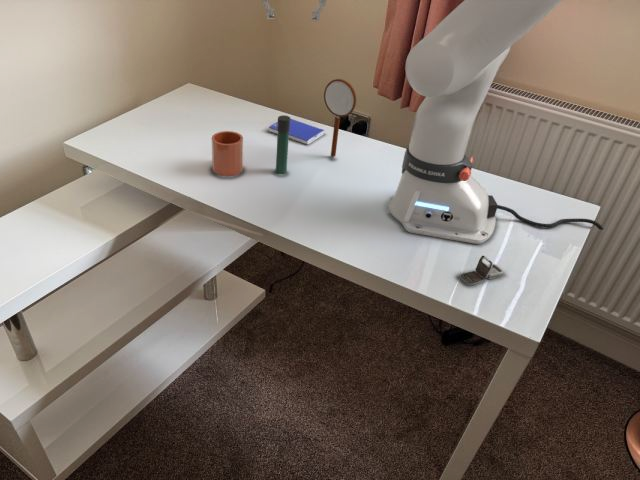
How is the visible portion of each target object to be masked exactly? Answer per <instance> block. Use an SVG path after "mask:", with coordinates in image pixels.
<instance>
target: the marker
mask: <svg viewBox="0 0 640 480" xmlns="http://www.w3.org/2000/svg"><path fill="white" fill-rule="evenodd" d="M290 119H291V117H290V116H289V115H279V116H278V117H277V122H278V124H277V131H278V133H277V134H276V135H277V137H276V139H277V140H276V154H275V155H276V157H275V173H276V174H278V175H285V174H287V170H288V155H289V141H290V140H289V139H290V138H289V131H290Z"/></svg>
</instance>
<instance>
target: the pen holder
mask: <svg viewBox="0 0 640 480" xmlns="http://www.w3.org/2000/svg"><path fill="white" fill-rule="evenodd" d="M211 167H212V168H211V169H212V171H213V172H214V174H216V175H218V176H221V177H234V176H237V175H239V174H241V173H242V172H243V170H244V137H243V135H242V134H241V133H239V132H236V131H232V130H224V131H218V132H216V133H214V134H213V135H211Z"/></svg>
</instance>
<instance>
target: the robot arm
mask: <svg viewBox="0 0 640 480" xmlns="http://www.w3.org/2000/svg"><path fill="white" fill-rule="evenodd" d="M563 1H564V0H463V1H462V2H461V3H460V4H458V5H457V6H456V7H455V8H454V9H453V10H452V11H451V12H450V13H449V14H448V15H447V16H445V17H444V18H443V19H442V20H441V21H440V22H439V23H438V24H437V25H435V27H434V28H433V29H432V30H431V31H429V33H428V34H426V35H425V36H424V37H423V38H422V39H421V40H419V41H418V42H417V44H416V45H414V46H413V47H412V48H411V49H410V51H409V53H408V55H407V57H406V60H405V65H404V66H405V67H404V68H405V69H404V70H405V77H406V80H407V82H408V85H409V86H410V87H411V88H412V90H413V91H414V92H415V93H417V94H419V95H420V96H423V97H424V99H423V100H422V102H421V103H420V105H419V106H418V108H417V109H416V112H415V117H414V121H413V125H412V129H411V135H410V140H409V144H408V146H407V148H405V151H404V154H403V160H402V165H401V176H400V179H399V182H398V184H397V188H396V190H395V191H394V194H393V196H392V198H391V199H390V201H389V204H388V210H389V212H390V214H391V215H392V216H393V218H395V219H396V220H397V221H398V222H399V223H401V224H402V226H403V228H404V230H405V231H406V232H408V233H411V234H417V235H423V236H427V237H428V236H429V237H433V238H434V237H435V238H441V239H447V240H451V241H457V242H464V243H469V244H475V245H480V244H483V243H485V242H486V241H488V240H489V239H490V238H491V236H492V235H493V233H494V231H495V227H496V222H497V221H496V220H497V219H496V213H497V211H498V210H501V211H505V212H508V213H510V214H512V215H513V216H514V217H515V218H516V219H517V220H519V221H521V222H523V223H526V224H527V225H530V226H534V227H539V228H555V227H557V226H559V225H561V224H564V223H586V224H591V225H593V226H595V227H596V228H597V229H598V230H601V231H603V230H604V227H603V226H602V225H601V224H600V223H599V222H598V221H596V220H594V219H589V218H562V219H559V220H557V221H555V222H552V223H542V222H538V221H537V222H536V221H533V220H530V219H528V218H525V217H523V216H521V215H520V214H519V213H518V212H516V210H514V209H513V208H510V207H507V206H503V205H500V204H498V202H497V201H496V199H495V197H494V196H493V195H491V194H488V192H487V190H486V189H485V188H484V187H483V186H482V185H481V184H480V183H479V182H478V181H477V180H476V178H475V177H473V176H472V168H473V161H474V157H473V156H471V158H470V159H469V157H468V156H467V155H466V150H467V147H468V143H469V140H470V137H471V133H472V130H473V126H474V123H475V120H476V118H477V116H478V113H479V111H480V109H481V107H482V105H483V103H484V101H485V99H486V97H487V95H488V92H489V90H490V89H491V86H492V85H493V81H494V79H495V77H496V75H497V73H498V71H499V69H500V67H501V65H502V64H503V63H504V61H505V60H506V58H507V56H508V54H509V53H510V51H511V47H512V46H513V45H514V44H516V43H517V42H518V41H519V40H521V39H522V38H523V37H524V36H526V35H527V34H529V33H530V32H531V31H532V30H533V29H534V28H535V27H536V26H538V25H539V24H540V23H541V22H542V21H543V20H544V19H545V18H546V17H547V16H548V15H549V14H550V13H551V12H552V11H554V10H555V9H556V8H557V7H558V6H559V5H560V4H561V3H562V2H563ZM261 2H262V4H263V7H264V8H265V10H266V19H267V20H274V19H275V8H272V7H271V6H270V4H269V2H270V0H261ZM318 4H319V5H318V6H317V8H316V9H312V10H311V14H312V15H311V22H319V21H320V13H321V12H322V11H323V9H324V8H325V6H326V4H327V0H318Z"/></svg>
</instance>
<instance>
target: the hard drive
mask: <svg viewBox="0 0 640 480" xmlns="http://www.w3.org/2000/svg"><path fill="white" fill-rule="evenodd" d="M277 124H278V121H276V122H275V123H272V124H271V125H269V126H268V132H270V133H273V134H276V135H277V133H278V131H277ZM323 135H325V129H323V128H319V127H317V126H313V125H311V124H308V123H305V122H302V121H299V120H296V119H292V118H290V131H289V139H290V140H294V141H297V142H299V143H301V144H305V145H310V144H311V143H313V142H314V141H316V140H317V139H319V138H321V137H322V136H323Z"/></svg>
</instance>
